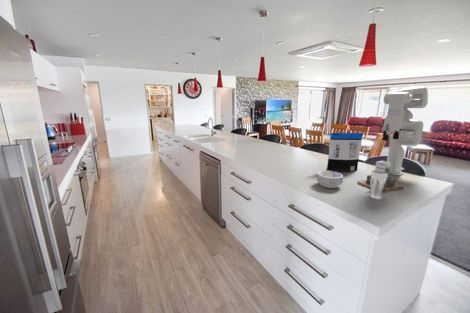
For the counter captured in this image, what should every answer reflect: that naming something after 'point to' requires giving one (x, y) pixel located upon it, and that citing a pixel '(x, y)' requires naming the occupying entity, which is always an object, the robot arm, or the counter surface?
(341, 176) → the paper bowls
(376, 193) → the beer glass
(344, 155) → the protein powder
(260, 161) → the counter surface
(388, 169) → the syrup box
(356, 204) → the counter surface
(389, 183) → the holder
